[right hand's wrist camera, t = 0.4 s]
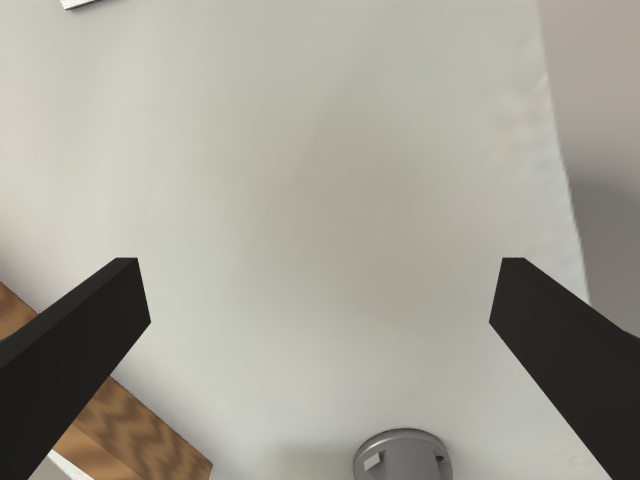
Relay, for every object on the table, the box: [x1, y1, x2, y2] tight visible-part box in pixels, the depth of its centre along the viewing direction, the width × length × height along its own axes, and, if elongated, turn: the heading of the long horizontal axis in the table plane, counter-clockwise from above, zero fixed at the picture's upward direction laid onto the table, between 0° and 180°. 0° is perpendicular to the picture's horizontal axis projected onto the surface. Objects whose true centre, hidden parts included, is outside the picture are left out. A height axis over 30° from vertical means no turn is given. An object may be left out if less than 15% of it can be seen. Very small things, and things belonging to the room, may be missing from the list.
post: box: [0, 282, 213, 480], centre depth 44 cm, size 56×5×8 cm, turn 34°
